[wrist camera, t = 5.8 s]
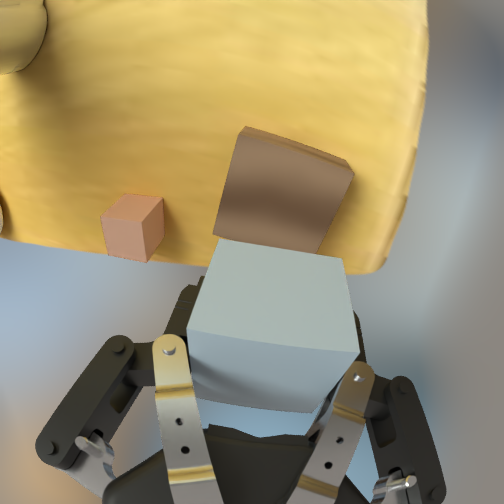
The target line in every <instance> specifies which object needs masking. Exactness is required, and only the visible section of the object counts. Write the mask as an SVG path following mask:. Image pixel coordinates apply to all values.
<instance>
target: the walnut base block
mask: <svg viewBox="0 0 504 504" xmlns="http://www.w3.org/2000/svg"><path fill="white" fill-rule="evenodd" d="M353 176H354V172H353V171H352V169H351V168H350V166H349V165H348V163H347V162H346V160H344V159H341V158H339V157H336V156H334V155H331V154H329V153H326V152H323V151H321V150H318V149H315V148H313V147H310V146H307V145H304V144H301V143H299V142H296V141H293V140H290V139H287V138H284V137H281V136H277V135H274V134H271V133H268V132H265V131H261V130H258V129H254V128H251V127H247V126H245V127H244V128H243V130H242V131H241V132H240V133H239V135H238V138H237V142H236V145H235V149H234V153H233V156H232V160H231V164H230V167H229V171H228V175H227V179H226V182H225V186H224V190H223V194H222V198H221V202H220V206H219V210H218V214H217V218H216V222H215V226H214V230H213V235H217V236H220V237H223V238H227V239H230V240H233V241H238V242H244V243H250V244H256V245H263V246H269V247H275V248H281V249H287V250H293V251H299V252H305V253H311V254H316V252H317V250H318V248H319V246H320V245H321V243H322V241H323V239H324V237H325V235H326V233H327V231H328V229H329V227H330V225H331V223H332V220H333V218H334V216H335V214H336V212H337V210H338V208H339V206H340V204H341V202H342V200H343V198H344V195H345V193H346V191H347V189H348V187H349V185H350V183H351V180H352V178H353Z"/></svg>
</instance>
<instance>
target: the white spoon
mask: <svg viewBox="0 0 504 504" xmlns="http://www.w3.org/2000/svg"><path fill="white" fill-rule="evenodd" d="M2 228H3V214H2V210H1V206H0V233H1V231H2Z"/></svg>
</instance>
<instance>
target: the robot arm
mask: <svg viewBox="0 0 504 504" xmlns="http://www.w3.org/2000/svg"><path fill="white" fill-rule="evenodd" d="M46 26H47V13H46V9H45V8H44V6H43V0H0V75H3V74H8V73H11V72H15V71H19V70H22V69H23V68H25V67H26V66H27V65H28V64H29V63H30V62H31V61H32V60H33V59H34V57H35V55H36V54H37V52H38V50H39V48H40V46H41V44H42V41H43V38H44V35H45V31H46ZM204 278H205V276H201V277H200V280H199V282H198V285H197V286H195V285H188V286H187V287H186V288H184V289H183V290H182V292H181V294H180V296H179V298H178V301H177V303H176V305H175V308H174V310H173V313H172V315H171V317H170V320H169V322H168V325H167V327H166V330H165V332H164V334H163V335H162V336H160V337H158V338H157V339H156V340H155V341H153V342H149V343H133V342H132V341H131V340H130V339H129V338H128V337H126V336H123V335H116V336H113V337H111V338H109V339H108V340H107V341H106V342H105V344H104V345H103V346H102V348H101V349H100V350H99V352H98V353H97V354H96V355H95V357H94V358H93V359H92V361H91V362H90V363H89V365H88V366H87V367H86V369H85V370H84V371H83V373H82V374H81V375H80V377H79V378H78V379H77V381H76V382H75V383H74V385H73V386H72V388H71V389H70V391H69V392H68V393H67V395H66V396H65V397H64V399H63V400H62V402H61V403H60V405H59V406H58V407H57V409H56V410H55V412H54V413H53V415H52V416H51V418H50V419H49V421H48V422H47V424H46V425H45V427H44V428H43V430H42V432H41V433H40V435H39V436H38V438H37V439H36V444H35V448H36V452H37V454H38V456H39V458H40V459H41V460H42V461H43V462H44V463H46V464H48V465H51V466H53V467H55V468H56V469H58V470H61V471H64V472H65V473H67V474H68V475H69V476H71V477H72V478H73V479H74V480H76V481H77V482H78V483H80V484H81V485H82V486H84V487H86V488H87V489H88V490H90V491H91V492H92V493H94V494H95V495H97V496H98V497H100V498H102V504H441V503H442V502H443V501H444V499H445V496H446V485H445V481H444V477H443V473H442V469H441V465H440V462H439V458H438V455H437V451H436V448H435V445H434V442H433V438H432V435H431V432H430V429H429V426H428V423H427V420H426V417H425V414H424V411H423V408H422V406H421V403H420V400H419V398H418V395H417V392H416V390H415V387H414V385H413V383H412V382H411V380H409V379H408V378H407V377H404V376H397V377H395V378H393V379H392V380H389V379H386V378H383V377H380V376H378V375H376V374H374V371H373V369H372V368H371V367H370V366H369V365H368V364H367V362H366V357H365V350H364V344H363V338H362V333H361V329H360V322H359V318H358V317H357V315H356V313H355V312H354V311H353V314H354V319H355V325H356V331H357V337H358V343H359V349H360V353H359V355H358V356H357V357H356V359H355V360H354V361H353V363H352V364H351V366H350V367H349V368H348V370H347V371H346V372H345V373H344V375H343V376H342V377H341V379H340V380H339V381H338V382H337V384H336V385H335V386H334V387H333V389H332V390H331V391H330V392H329V394H328V395H327V396H326V397H325V398H324V401H323V403H322V405H321V407H320V409H319V411H318V413H317V415H316V418H315V420H314V422H313V424H312V425H311V427H310V429H309V430H308V431H307V433H306V434H305V436H303V435H302V436H301V435H287V434H284V435H277V436H271V437H262V438H259V437H255V436H252V435H250V434H247V433H244V432H242V431H239V430H237V429H234V428H228V427H223V426H218V425H212V424H209V427H208V429H202V425H201V421H200V417H199V412H198V407H197V403H196V398H195V393H194V389H193V385H192V380H191V375H190V374H191V364H190V356H189V347H188V338H187V329H186V328H187V325H188V322H189V320H190V317H191V314H192V311H193V308H194V306H195V303H196V300H197V297H198V294H199V292H200V289H201V286H202V284H203V281H204ZM143 386H156V391H155V399H156V407H157V414H158V421H159V428H160V434H161V440H162V445H163V449H161V450H160V451H158V452H157V453H155V454H154V455H152V456H151V457H149V458H148V459H147V460H145V461H143V462H142V463H140V464H138V465H137V466H135V467H134V468H132V469H130V470H129V471H127V472H126V473H124V474H122V475H121V476H119V477H117V478H116V477H115V476H114V474H113V471H112V463H113V460H114V451H113V448H112V447H111V445H110V444H109V442H110V440H111V439H112V437H113V435H114V434H115V432H116V430H117V429H118V427H119V425H120V424H121V422H122V420H123V419H124V417H125V416H126V414H127V412H128V411H129V409H130V407H131V406H132V404H133V402H134V401H135V399H136V397H137V396H138V394H139V393H140V391H141V390H142V388H143ZM363 416H364V417H363ZM365 423H366V426H367V430H368V433H369V438H370V442H371V445H372V450H373V453H374V458H375V462H376V466H377V470H378V475H379V480H378V481H377V482H376V484H375V486H374V489H373V494H374V496H373V499H372V501H371V503H369V502H368V501H367V499H366V498H365V497H364V496H363V495H362V494H361V493H360V491H359V490H358V489H357V488H356V486H355V485H354V484H353V483H352V482H351V480H350V479H349V478H348V477H347V476H346V474H345V473H346V471H347V469H348V467H349V464H350V462H351V460H352V457H353V454H354V452H355V450H356V447H357V445H358V442H359V439H360V437H361V434H362V431H363V428H364V426H365Z"/></svg>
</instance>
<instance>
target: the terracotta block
mask: <svg viewBox="0 0 504 504" xmlns="http://www.w3.org/2000/svg"><path fill="white" fill-rule="evenodd" d="M100 218H101V223H102V228H103V233H104V238H105V242H106V247H107V251H108V255H110V256H114V257H120V258H124V259H129V260H135V261H140V262H145V263H147V262H148V260H149V259H150V257H151V256H152V254H153V253H154V251H155V250H156V248H157V246H158V245H159V243H160V242H161V240H162V239H163V237H164V236H165V227H164V211H163V198H162V197H153V196H144V195H135V194H124V195H123V196H122V197H121V198H119V199H118V200H117V201H116V202H115V203H114V204H113V205H112V206H111V207H110V208H109V209H108V210H106V211H105V212H104V213H103V214H102V215H101V216H100Z"/></svg>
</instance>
